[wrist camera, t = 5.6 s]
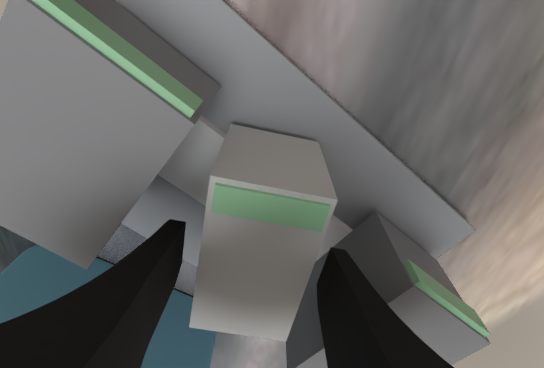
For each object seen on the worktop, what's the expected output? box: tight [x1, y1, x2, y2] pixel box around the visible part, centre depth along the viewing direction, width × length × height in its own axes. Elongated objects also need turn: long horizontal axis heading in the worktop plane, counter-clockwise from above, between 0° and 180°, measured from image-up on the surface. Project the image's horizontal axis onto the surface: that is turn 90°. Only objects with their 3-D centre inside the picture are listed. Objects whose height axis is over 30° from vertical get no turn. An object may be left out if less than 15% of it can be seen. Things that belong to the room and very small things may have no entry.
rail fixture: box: [0, 0, 490, 368], centre depth 15 cm, size 20×12×7 cm, turn 50°
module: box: [189, 124, 338, 342], centre depth 14 cm, size 4×7×5 cm, turn 168°
